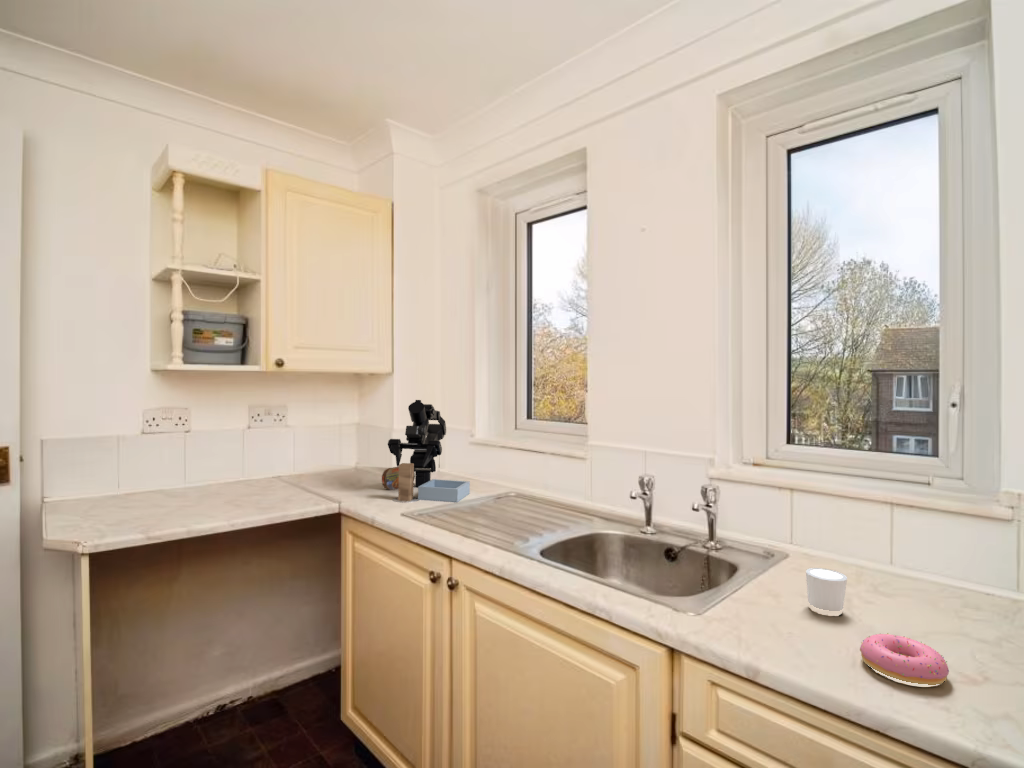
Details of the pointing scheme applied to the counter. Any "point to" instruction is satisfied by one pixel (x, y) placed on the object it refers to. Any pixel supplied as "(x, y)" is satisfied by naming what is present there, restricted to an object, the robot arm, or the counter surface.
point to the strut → (406, 481)
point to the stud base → (405, 501)
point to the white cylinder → (826, 588)
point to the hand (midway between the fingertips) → (410, 466)
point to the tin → (391, 478)
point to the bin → (444, 490)
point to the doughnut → (904, 659)
